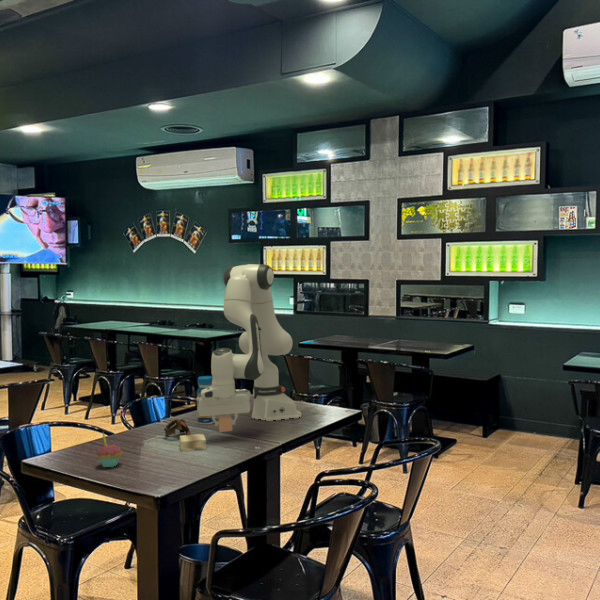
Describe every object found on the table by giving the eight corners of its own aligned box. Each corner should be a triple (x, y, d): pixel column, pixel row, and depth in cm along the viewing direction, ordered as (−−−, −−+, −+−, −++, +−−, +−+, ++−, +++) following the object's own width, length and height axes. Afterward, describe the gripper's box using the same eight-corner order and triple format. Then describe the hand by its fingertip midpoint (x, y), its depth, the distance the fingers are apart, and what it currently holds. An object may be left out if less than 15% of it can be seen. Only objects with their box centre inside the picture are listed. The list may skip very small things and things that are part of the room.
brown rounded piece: (190, 441, 246) (179, 424, 244) (170, 451, 248) (158, 434, 246) (196, 426, 258) (185, 410, 256) (177, 435, 260) (166, 420, 257)
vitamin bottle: (220, 422, 273) (218, 377, 272) (202, 425, 269) (200, 379, 268) (211, 419, 280) (210, 374, 279) (193, 422, 276) (192, 376, 275)
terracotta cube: (231, 427, 248) (230, 414, 248) (232, 430, 243) (231, 418, 243) (218, 428, 247) (218, 415, 247) (219, 431, 243) (218, 419, 242)
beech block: (203, 444, 241) (203, 433, 241) (206, 450, 233) (205, 439, 233) (180, 446, 239) (179, 435, 239) (181, 452, 231) (181, 441, 230)
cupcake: (98, 470, 210) (97, 435, 209) (95, 464, 218) (94, 429, 217) (124, 467, 213) (123, 432, 213) (121, 460, 221) (120, 426, 221)
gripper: (249, 386, 249) (250, 421, 250) (197, 390, 246) (199, 425, 247) (251, 390, 243) (252, 425, 244) (197, 394, 239) (199, 429, 241)
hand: (225, 425), depth 245 cm, fingers closed on terracotta cube, 5 cm apart
